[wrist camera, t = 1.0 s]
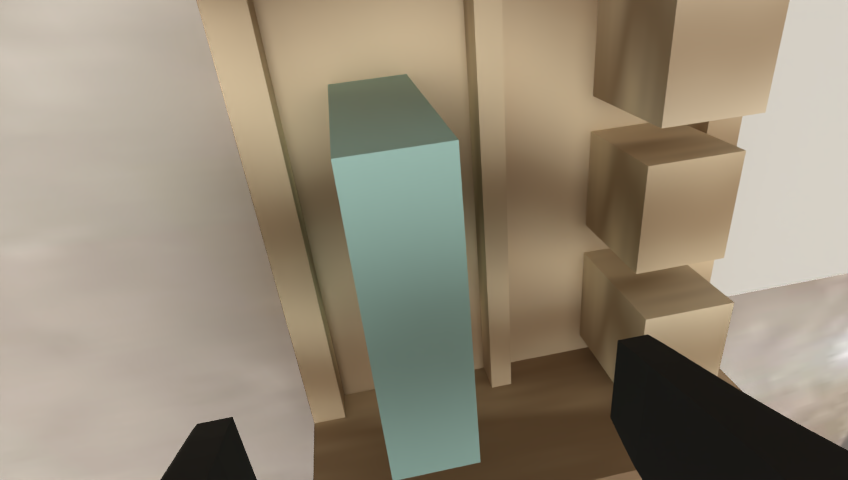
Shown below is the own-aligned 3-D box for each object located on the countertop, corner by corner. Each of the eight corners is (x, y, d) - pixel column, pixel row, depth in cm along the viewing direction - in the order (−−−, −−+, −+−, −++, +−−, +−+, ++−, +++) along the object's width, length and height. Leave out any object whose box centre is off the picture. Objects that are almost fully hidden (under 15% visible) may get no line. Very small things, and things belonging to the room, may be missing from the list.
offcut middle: (660, 211, 20) (723, 258, 17) (585, 224, 19) (636, 274, 16) (672, 119, 18) (746, 150, 15) (590, 131, 18) (648, 166, 15)
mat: (840, 265, 24) (852, 272, 23) (697, 293, 23) (706, 300, 22) (950, -65, 17) (969, -67, 17) (759, -43, 17) (773, -43, 16)
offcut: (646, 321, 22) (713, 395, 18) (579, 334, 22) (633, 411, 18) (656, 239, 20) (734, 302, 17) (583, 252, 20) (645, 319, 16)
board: (432, 312, 20) (480, 462, 14) (371, 323, 20) (392, 481, 14) (406, 74, 16) (458, 140, 10) (327, 84, 16) (330, 159, 10)
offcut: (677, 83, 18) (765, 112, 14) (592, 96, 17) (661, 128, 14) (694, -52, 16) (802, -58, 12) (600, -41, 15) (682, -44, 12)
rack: (668, 341, 24) (778, 460, 18) (320, 411, 22) (319, 565, 16) (745, -135, 15) (1000, -197, 10) (189, -80, 14) (93, -115, 8)
